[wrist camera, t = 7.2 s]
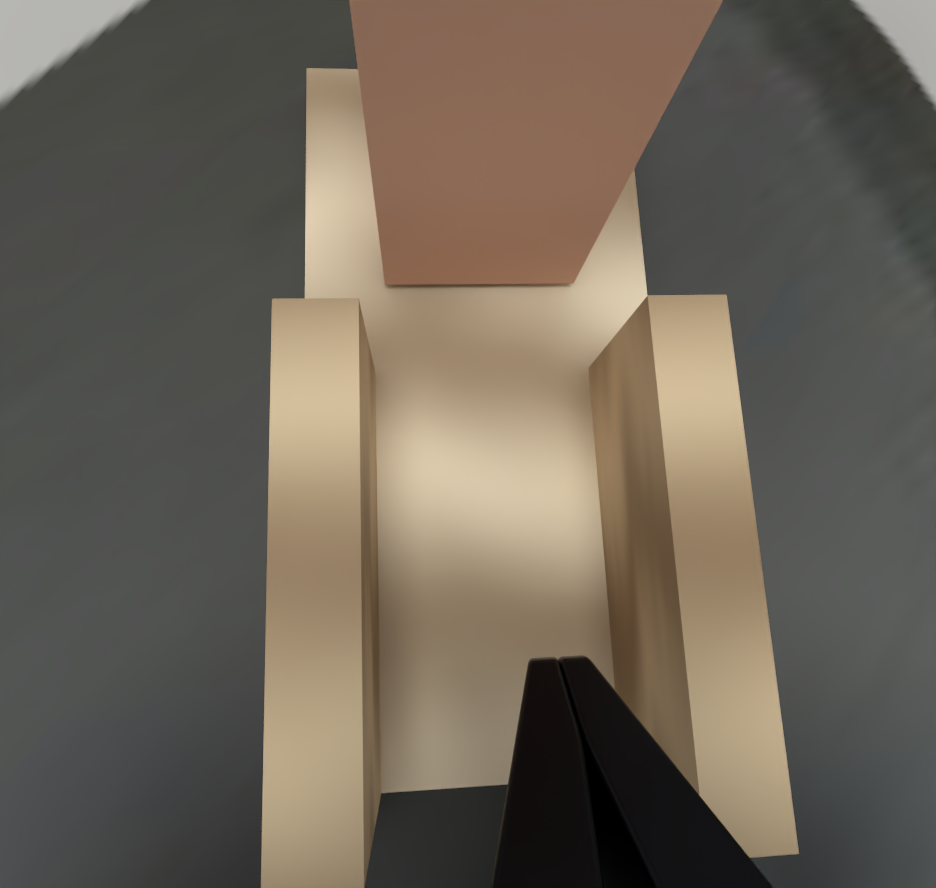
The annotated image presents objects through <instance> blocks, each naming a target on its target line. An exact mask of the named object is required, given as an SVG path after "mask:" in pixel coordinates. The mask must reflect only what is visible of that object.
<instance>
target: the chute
mask: <svg viewBox="0 0 936 888" xmlns="http://www.w3.org/2000/svg"><path fill="white" fill-rule="evenodd" d="M575 655H584V656H586V657H588V658H589V659H590V660H591V661H592V662H593V663H594V665H595V666H596V667H597V668H598V670H599V671H600V672H601V673H602V675H603V676H604V677H605V678H606V680H607V681H608V682H609V683H610V685H611V686H612V687H613V688H614V690H615V691H616V692H617V693H618V695H619V696H620V697H621V698H622V700H623V701H624V702H625V703H626V705H627V706H628V707H629V708H630V710H631V711H632V712H633V713H634V714H635V716H636V717H637V718H638V719H639V721H640V722H641V723H642V724H643V726H644V727H645V728H646V729H647V731H648V732H649V733H650V734H651V736H652V737H653V738H654V739H655V741H656V742H657V743H658V744H659V746H660V747H661V748H662V749H663V751H664V752H665V753H666V754H667V756H668V757H669V758H670V759H671V761H672V762H673V763H674V764H675V765H676V767H677V768H678V769H679V770H680V772H681V773H682V774H683V775H684V777H685V778H686V779H687V780H688V782H689V783H690V784H691V785H692V787H693V788H694V789H695V790H696V792H697V793H698V794H699V795H700V797H701V798H702V799H703V800H704V802H705V803H706V804H707V805H708V807H709V808H710V809H711V810H712V812H713V813H714V814H715V815H716V817H717V818H718V819H719V820H720V821H721V823H722V824H723V825H724V826H725V828H726V829H727V830H728V831H729V833H730V834H731V835H732V836H733V838H734V839H735V840H736V841H737V843H738V844H739V845H740V846H741V848H742V849H743V850H744V851H745V853H746V854H747V855H748V856H749V858H754V857H767V856H779V855H791V854H799V850H798V842H797V834H796V827H795V819H794V811H793V803H792V796H791V788H790V780H789V773H788V765H787V757H786V749H785V742H784V734H783V726H782V719H781V711H780V703H779V696H778V688H777V680H776V672H775V665H774V657H773V649H772V642H771V634H770V626H769V618H768V611H767V603H766V595H765V588H764V580H763V572H762V565H761V557H760V549H759V541H758V534H757V526H756V518H755V511H754V503H753V495H752V487H751V480H750V472H749V464H748V457H747V449H746V441H745V434H744V426H743V418H742V410H741V403H740V395H739V387H738V380H737V372H736V364H735V357H734V349H733V341H732V333H731V326H730V318H729V310H728V303H727V295H648V296H647V288H646V278H645V268H644V259H643V249H642V240H641V230H640V220H639V211H638V201H637V191H636V182H635V172H634V170H633V172H632V174H631V176H630V177H629V179H628V181H627V183H626V185H625V187H624V189H623V191H622V193H621V194H620V196H619V198H618V200H617V202H616V204H615V206H614V208H613V210H612V212H611V213H610V215H609V217H608V219H607V221H606V223H605V225H604V227H603V229H602V230H601V232H600V234H599V236H598V238H597V240H596V242H595V244H594V246H593V248H592V249H591V251H590V253H589V255H588V257H587V259H586V261H585V263H584V265H583V267H582V268H581V270H580V272H579V274H578V276H577V278H576V280H575V282H574V283H541V284H404V285H385V281H384V273H383V265H382V257H381V249H380V241H379V233H378V225H377V217H376V209H375V201H374V193H373V185H372V177H371V169H370V161H369V153H368V145H367V137H366V129H365V121H364V113H363V105H362V97H361V89H360V81H359V73H358V69H318V68H307V107H306V227H305V298H304V299H272V329H271V382H270V434H269V487H268V539H267V592H266V644H265V697H264V749H263V802H262V855H261V888H364V887H365V882H366V876H367V870H368V865H369V859H370V854H371V848H372V843H373V837H374V831H375V826H376V820H377V815H378V809H379V804H380V798H381V793H391V792H405V791H420V790H434V789H448V788H462V787H477V786H491V785H505V784H508V780H509V774H510V768H511V762H512V756H513V750H514V744H515V738H516V732H517V726H518V720H519V714H520V708H521V702H522V696H523V690H524V684H525V678H526V672H527V666H528V661H529V660H530V659H531V658H538V657H555V658H556V659H557V660H558V659H559V658H560V657H562V656H575Z"/></svg>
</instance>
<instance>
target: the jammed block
mask: <svg viewBox="0 0 936 888" xmlns="http://www.w3.org/2000/svg"><path fill="white" fill-rule="evenodd" d="M349 1H350V9H351V17H352V25H353V33H354V41H355V49H356V57H357V65H358V73H359V81H360V89H361V97H362V105H363V113H364V121H365V129H366V137H367V145H368V153H369V161H370V169H371V177H372V185H373V193H374V201H375V209H376V217H377V225H378V233H379V241H380V249H381V257H382V265H383V273H384V281H385V285H404V284H541V283H574V282H575V280H576V278H577V276H578V274H579V272H580V270H581V268H582V267H583V265H584V263H585V261H586V259H587V257H588V255H589V253H590V251H591V249H592V248H593V246H594V244H595V242H596V240H597V238H598V236H599V234H600V232H601V230H602V229H603V227H604V225H605V223H606V221H607V219H608V217H609V215H610V213H611V212H612V210H613V208H614V206H615V204H616V202H617V200H618V198H619V196H620V194H621V193H622V191H623V189H624V187H625V185H626V183H627V181H628V179H629V177H630V176H631V174H632V172H633V170H634V168H635V166H636V164H637V162H638V160H639V158H640V157H641V155H642V153H643V151H644V149H645V147H646V145H647V143H648V141H649V139H650V138H651V136H652V134H653V132H654V130H655V128H656V126H657V124H658V122H659V121H660V119H661V117H662V115H663V113H664V111H665V109H666V107H667V105H668V103H669V102H670V100H671V98H672V96H673V94H674V92H675V90H676V88H677V86H678V85H679V83H680V81H681V79H682V77H683V75H684V73H685V71H686V69H687V67H688V66H689V64H690V62H691V60H692V58H693V56H694V54H695V52H696V50H697V49H698V47H699V45H700V43H701V41H702V39H703V37H704V35H705V33H706V31H707V30H708V28H709V26H710V24H711V22H712V20H713V18H714V16H715V14H716V12H717V11H718V9H719V7H720V5H721V3H722V1H723V0H349Z"/></svg>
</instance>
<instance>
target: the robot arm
mask: <svg viewBox="0 0 936 888" xmlns="http://www.w3.org/2000/svg"><path fill="white" fill-rule="evenodd" d="M491 888H773V887H772V885H771V884H770V882H769V881H768V880H767V879H766V877H765V876H764V875H763V874H762V872H761V871H760V870H759V869H758V868H757V866H756V865H755V864H754V863H753V861H752V860H751V859H750V858H749V856H748V855H747V854H746V853H745V851H744V850H743V849H742V848H741V846H740V845H739V844H738V843H737V841H736V840H735V839H734V838H733V836H732V835H731V834H730V833H729V831H728V830H727V829H726V828H725V826H724V825H723V824H722V823H721V821H720V820H719V819H718V818H717V817H716V815H715V814H714V813H713V812H712V810H711V809H710V808H709V807H708V805H707V804H706V803H705V802H704V800H703V799H702V798H701V797H700V795H699V794H698V793H697V792H696V790H695V789H694V788H693V787H692V785H691V784H690V783H689V782H688V780H687V779H686V778H685V777H684V775H683V774H682V773H681V772H680V770H679V769H678V768H677V767H676V765H675V764H674V763H673V762H672V761H671V759H670V758H669V757H668V756H667V754H666V753H665V752H664V751H663V749H662V748H661V747H660V746H659V744H658V743H657V742H656V741H655V739H654V738H653V737H652V736H651V734H650V733H649V732H648V731H647V729H646V728H645V727H644V726H643V724H642V723H641V722H640V721H639V719H638V718H637V717H636V716H635V714H634V713H633V712H632V711H631V710H630V708H629V707H628V706H627V705H626V703H625V702H624V701H623V700H622V698H621V697H620V696H619V695H618V693H617V692H616V691H615V690H614V688H613V687H612V686H611V685H610V683H609V682H608V681H607V680H606V678H605V677H604V676H603V675H602V673H601V672H600V671H599V670H598V668H597V667H596V666H595V665H594V663H593V662H592V661H591V660H590V659H589V658H588V657H586V656H584V655H575V656H562V657H560V658H559V659H558V660H557V659H556V658H555V657H538V658H531V659H530V660H529V661H528V666H527V672H526V678H525V684H524V690H523V696H522V702H521V708H520V714H519V720H518V726H517V732H516V738H515V744H514V750H513V756H512V762H511V768H510V774H509V780H508V786H507V792H506V798H505V804H504V810H503V816H502V822H501V828H500V835H499V841H498V847H497V853H496V859H495V865H494V871H493V877H492V883H491Z"/></svg>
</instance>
